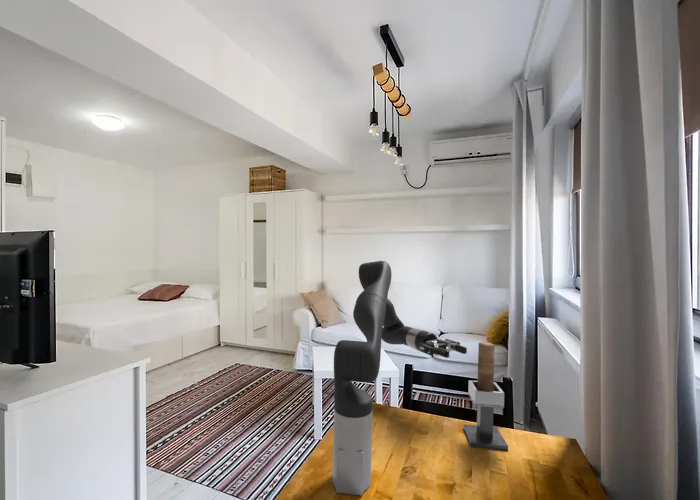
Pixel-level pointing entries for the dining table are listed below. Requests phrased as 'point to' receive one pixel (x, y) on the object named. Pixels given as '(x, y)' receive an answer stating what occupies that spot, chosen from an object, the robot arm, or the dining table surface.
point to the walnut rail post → (485, 366)
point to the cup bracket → (485, 418)
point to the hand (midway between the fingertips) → (457, 352)
